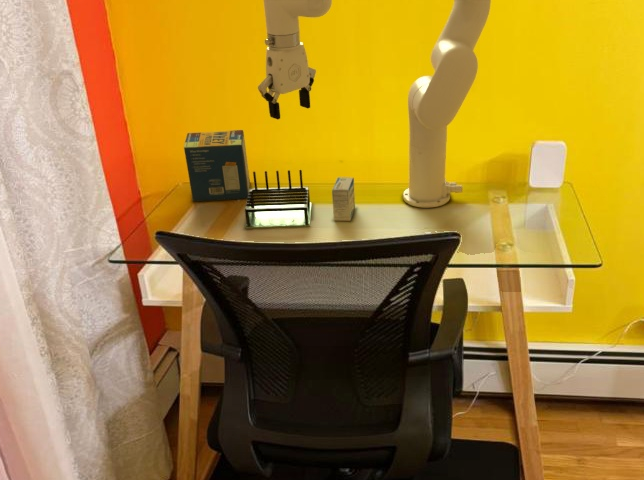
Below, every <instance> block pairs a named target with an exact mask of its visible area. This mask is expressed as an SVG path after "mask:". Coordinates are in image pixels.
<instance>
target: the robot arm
mask: <svg viewBox="0 0 644 480" xmlns="http://www.w3.org/2000/svg"><path fill="white" fill-rule="evenodd" d="M332 2H333V0H263V7H264V8H263V9H264V16H265V27H266V37H267V38H265V39H264V44H265V46H268V47H267V48H266V52H265V74H266V75H265V78H264V79H263V80H262V82H261V83H259V85H258V86H257V90H258V91H259V93H260V95H261V97H262V98H263V99H264V100H265V101H266V102H267V103H268V111H269V116H270V118H272V119H275V120H280V119H281V107H280V103H279V102H278V100H279V98H280V96H281V95H285V94H288V93H291V92H294V91H297V90H298V98H299V99H298V100H299V106H300V107H302V108H305V109H311V97H310V92H311V91H312V86H313V84H314V82H315V77H316V73H317V70H316V69H315V68H312V67H309V61H308V57H307V52H306V49H305V45H304V43H303V42H301V33H300V22H299V21H300V20H299V17H303V18H320V17H323V16H325V15H326V14H328V12H329V11H330V9H331V7H332ZM491 2H492V1H491V0H453V4H452V7H451V8H452V9H451V11H450V13H449V16H448V19H447V21H446V23H445V25H444V26H443V29H442V31H441V32H440V35H439V36H438V39H437V41H436V42H435V44H434V47H433V49H432V51H431V55H430V64H431V67H432V68H433V70H434V73H433V75H423V76H420V77H419V78H417V79H416V80H415V81H414V82H413V83H412V84H411V86H410V88H409V91H408V95H407V109H408V110H407V111H408V128H409V130H408V131H409V134H408V135H409V137H408V139H409V140H408V141H409V143H408V188H406V189H405V190H404V191H403V193H402V199H403V201H404V202H405V203H406V204H407V205H409V206H412V207H415V208H416V207H417V208H423V209H424V208H426V209H429V208H437V207H438V208H439V207H441V206H443V205H445V204H447V203H448V202H449V201H450V200H451V193H455V194H456V193H459V194H460V193H463V185H462V184H457V182H454V181H453V182H448V181H447V180H446V164H447V163H446V162H447V161H446V160H447V143H448V142H447V141H448V140H447V139H448V126H449V125H450V124H451V123H452V122H453V120H454V119H455V117H456V116H457V115H458V112H459V111H460V109H461V107H462V105H463V103H464V101H465V100H466V97H467V95H468V93H469V92H470V90H471V89H472V86H473V84H474V82H475V80H476V78H477V74H478V68H479V63H478V62H479V61H478V58H477V55H476V53H475V52H474V50H475V48H476V45H477V43H478V41H479V39H480V37H481V34H482V32H483V30H484V28H485V26H486V22H487V21H488V19H489V15H490V10H491Z"/></svg>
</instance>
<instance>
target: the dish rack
mask: <svg viewBox="0 0 644 480" xmlns="http://www.w3.org/2000/svg"><path fill="white" fill-rule="evenodd" d="M298 172H299V183H300V186H292V178H291V176H292V175H291V170H290V169H288V170H287V178H288V186H287V187H281V184H280V183H281V182H280V172H279V170H276V171H275V173H276V175H275V176H276V185H277V187H269V179H268V171H267V170H265V171H264V178H265V179H264V181H265V187H262V188H261V187H260V188H259V187H258V183H257V175H256V171H255V170H254V171H252V175H253V183H254V184H253V185H254V188H249V193H248V198H247V199H246V202H245V206H244V215H245V226H244V229H245V230H256V229H257V230H258V229H289V228H309V227H311V216H312V202H311V197H310V187H309V186H304V184H303V183H304V182H303V171H302V169H299V170H298Z"/></svg>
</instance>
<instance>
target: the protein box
mask: <svg viewBox="0 0 644 480" xmlns="http://www.w3.org/2000/svg"><path fill="white" fill-rule="evenodd" d="M246 148H247V147H246V141H245V134H244V129H235V130H219V131H202V132H188V133H186V137H185V141H184V145H183V150H184V156H185V162H186V168H187V172H188V173H187V175H188V180H189V186H190V187H189V188H190V193H191V199H192V202H193V203H194V202H208V201H210V202H212V201H229V200H247V198H248V193H249V189H250V187H251V179H250V171H249V164H248V158H247V149H246Z"/></svg>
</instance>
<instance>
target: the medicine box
mask: <svg viewBox="0 0 644 480" xmlns="http://www.w3.org/2000/svg"><path fill="white" fill-rule="evenodd" d="M355 195H356V193H355V179H354V177H350V176H349V177H348V176H347V177H345V176H344V177H342V176H340V177H337V178H336V181H335V183H334V185H333V188H332V190H331V198H332V211H333V214H332V215H333V220H334V221H339V222H341V221H342V222H351V220H352V218H353V214H354V213H355V212H354V211H355V209H356V196H355Z"/></svg>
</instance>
